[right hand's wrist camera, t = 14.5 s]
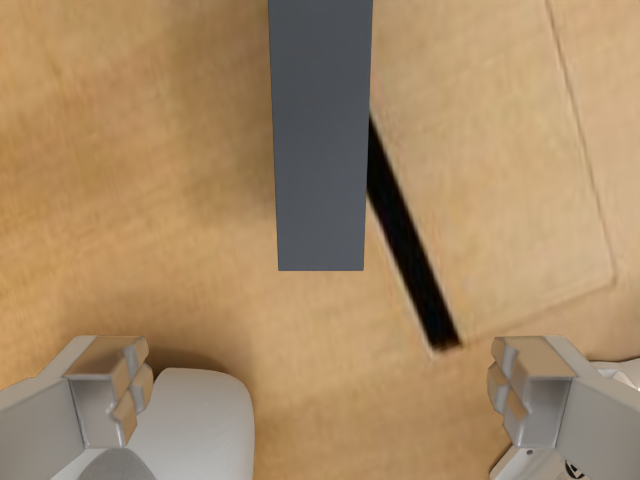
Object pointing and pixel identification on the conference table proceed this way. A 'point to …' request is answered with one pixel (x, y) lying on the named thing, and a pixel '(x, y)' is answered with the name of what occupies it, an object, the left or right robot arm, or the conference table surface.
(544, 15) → the conference table surface
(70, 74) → the conference table surface
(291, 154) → the bar
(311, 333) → the conference table surface
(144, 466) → the white arched housing
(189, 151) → the conference table surface
